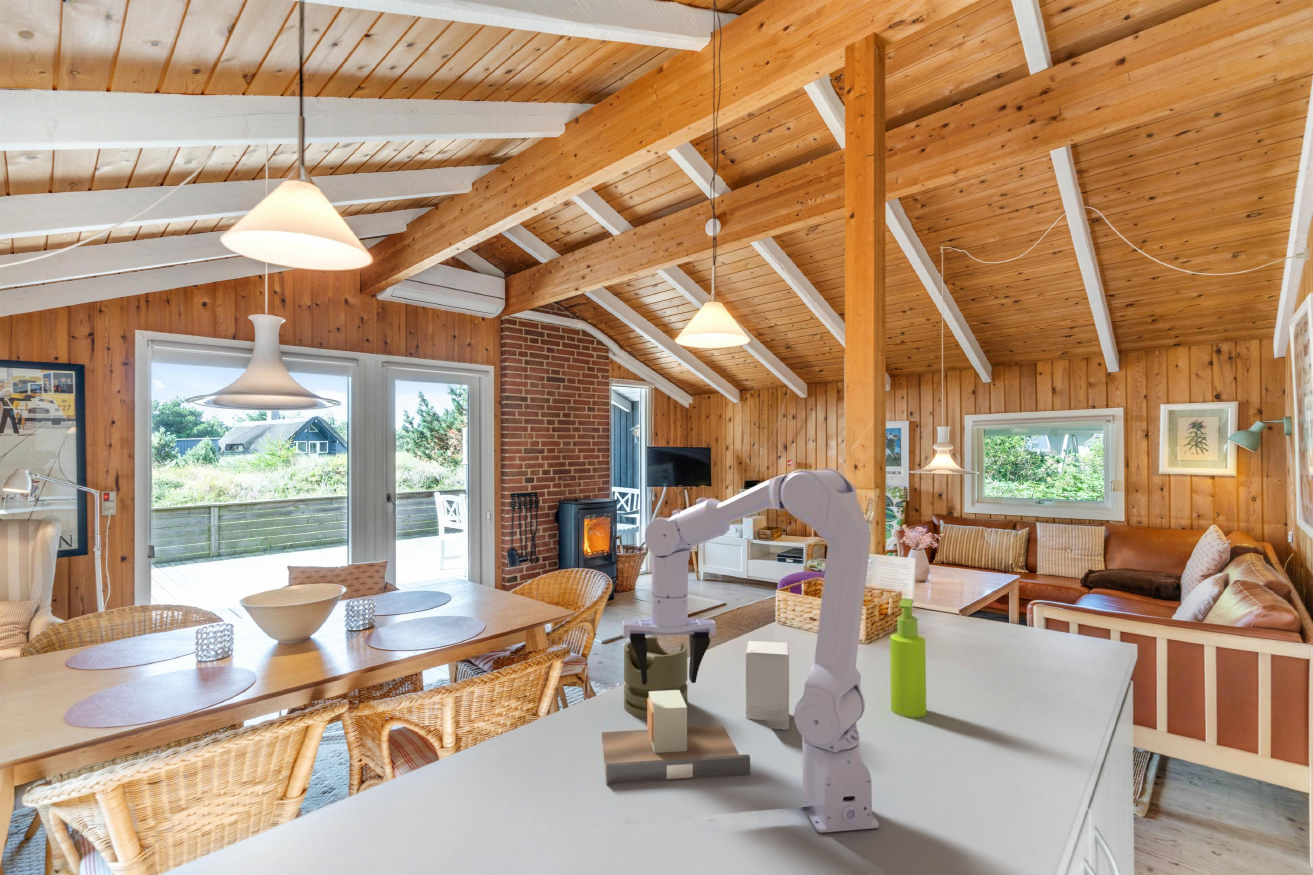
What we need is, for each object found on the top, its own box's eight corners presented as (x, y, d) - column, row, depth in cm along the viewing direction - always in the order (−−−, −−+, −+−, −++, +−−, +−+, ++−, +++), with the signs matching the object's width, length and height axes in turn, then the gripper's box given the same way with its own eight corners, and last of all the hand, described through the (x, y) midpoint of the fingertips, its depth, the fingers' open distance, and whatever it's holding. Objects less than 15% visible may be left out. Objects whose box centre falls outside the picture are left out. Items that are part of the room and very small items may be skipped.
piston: (646, 633, 118) (698, 643, 112) (646, 697, 118) (698, 710, 112) (611, 649, 109) (666, 660, 103) (611, 718, 109) (666, 733, 103)
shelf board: (750, 785, 86) (750, 774, 86) (606, 795, 84) (606, 784, 84) (723, 734, 102) (723, 725, 102) (601, 741, 100) (601, 732, 100)
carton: (679, 730, 100) (679, 689, 100) (687, 750, 93) (686, 707, 94) (646, 732, 100) (646, 691, 100) (652, 752, 93) (652, 708, 93)
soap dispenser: (888, 715, 110) (886, 601, 110) (893, 702, 116) (891, 594, 116) (924, 722, 107) (922, 605, 107) (927, 708, 113) (926, 597, 113)
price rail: (750, 775, 86) (750, 757, 86) (606, 785, 84) (606, 766, 84) (748, 771, 87) (748, 754, 87) (606, 781, 85) (606, 763, 85)
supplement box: (789, 731, 103) (789, 654, 104) (744, 727, 105) (744, 651, 105) (789, 713, 111) (788, 641, 111) (747, 709, 112) (747, 639, 113)
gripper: (709, 587, 102) (708, 670, 102) (621, 588, 100) (620, 673, 100) (719, 597, 95) (718, 687, 95) (624, 599, 93) (623, 690, 93)
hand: (668, 681), depth 97 cm, fingers open, 7 cm apart
